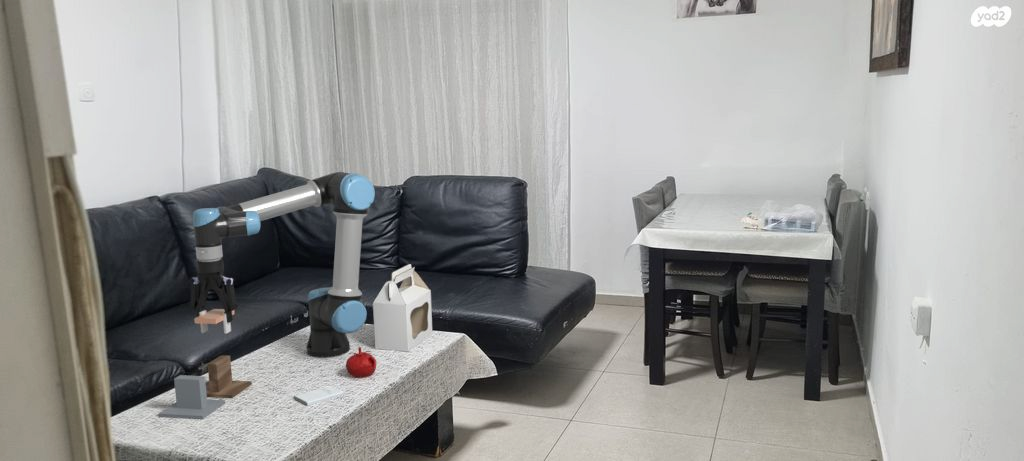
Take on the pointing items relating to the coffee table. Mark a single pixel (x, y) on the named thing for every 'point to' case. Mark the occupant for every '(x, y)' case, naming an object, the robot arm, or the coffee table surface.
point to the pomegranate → (361, 364)
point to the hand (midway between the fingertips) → (216, 331)
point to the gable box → (402, 312)
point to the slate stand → (191, 399)
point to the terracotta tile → (211, 317)
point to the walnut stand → (223, 379)
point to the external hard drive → (318, 395)
